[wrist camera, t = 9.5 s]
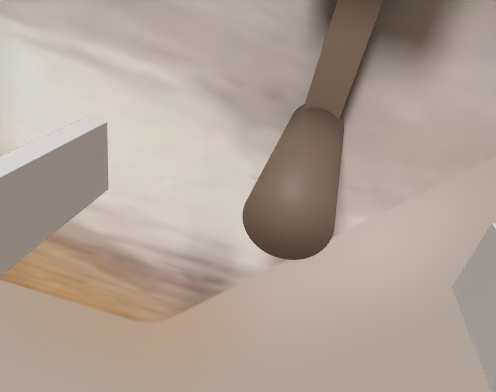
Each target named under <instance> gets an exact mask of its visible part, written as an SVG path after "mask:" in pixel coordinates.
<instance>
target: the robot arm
mask: <svg viewBox="0 0 496 392" xmlns="http://www.w3.org/2000/svg"><path fill="white" fill-rule="evenodd" d="M107 190H108V149H107V122H105V121H101V120H97V119H94V118H90V117H86V118H83V119H81V120H79V121H77V122H75V123H73V124H70V125H68V126H66V127H64V128H62V129H60V130H57V131H55V132H53V133H51V134H49V135H46V136H44V137H42V138H40V139H38V140H36V141H33V142H31V143H29V144H27V145H25V146H22V147H20V148H18V149H16V150H14V151H12V152H9V153H7V154H5V155H3V156H1V157H0V276H1V275H3V274H4V273H5V272H6V271H7V270H9V269H10V268H11V267H12V266H14V265H15V264H16V263H17V262H19V261H20V260H21V259H22V258H24V257H25V256H26V255H27V254H29V253H30V252H31V251H32V250H34V249H35V248H36V247H37V246H38V245H40V244H41V243H42V242H43V241H45V240H46V239H47V238H48V237H50V236H51V235H52V234H53V233H55V232H56V231H57V230H58V229H60V228H61V227H62V226H63V225H64V224H66V223H67V222H68V221H69V220H71V219H72V218H73V217H74V216H76V215H77V214H78V213H79V212H81V211H82V210H83V209H84V208H86V207H87V206H88V205H89V204H91V203H92V202H93V201H94V200H95V199H97V198H98V197H99V196H100V195H102V194H103V193H104V192H105V191H107ZM452 288H453V291H454V294H455V296H456V299H457V302H458V304H459V307H460V310H461V312H462V315H463V317H464V320H465V323H466V326H467V328H468V331H469V334H470V336H471V339H472V341H473V344H474V347H475V350H476V352H477V355H478V358H479V360H480V363H481V366H482V368H483V371H484V374H485V376H486V379H487V382H488V384H489V387H490V389H491V392H496V224H494V223H492V224H491V226H490V227H489V229H488V230H487V232H486V234H485V235H484V237H483V238H482V240H481V242H480V243H479V245H478V246H477V248H476V250H475V251H474V253H473V255H472V256H471V258H470V259H469V261H468V262H467V264H466V265H465V267H464V269H463V270H462V272H461V273H460V275H459V277H458V278H457V280H456V281H455V283H454V285H453V286H452Z"/></svg>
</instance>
